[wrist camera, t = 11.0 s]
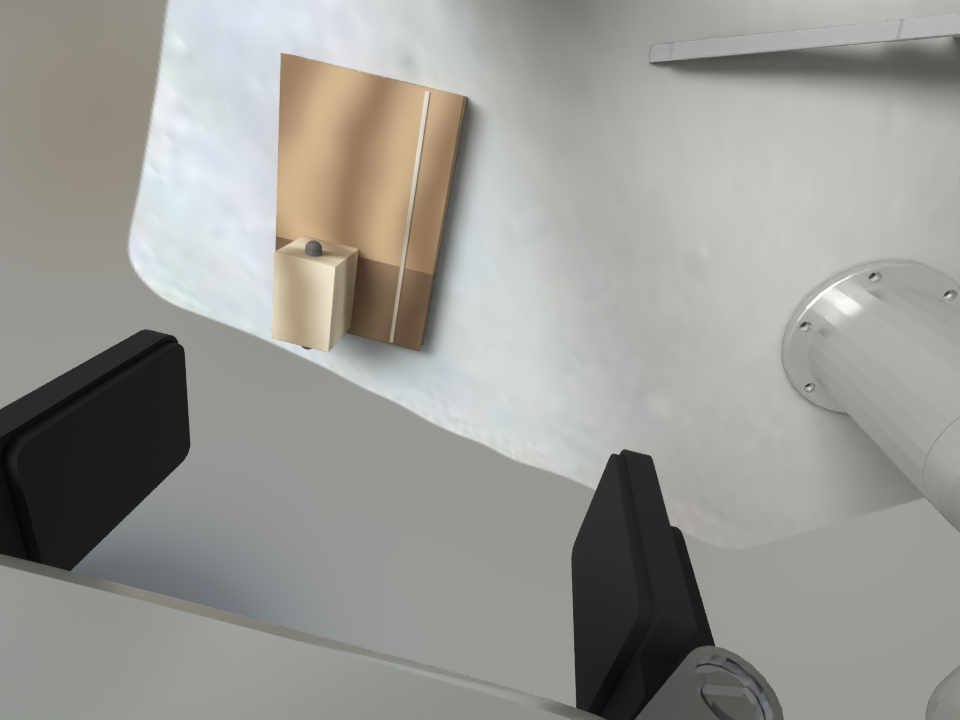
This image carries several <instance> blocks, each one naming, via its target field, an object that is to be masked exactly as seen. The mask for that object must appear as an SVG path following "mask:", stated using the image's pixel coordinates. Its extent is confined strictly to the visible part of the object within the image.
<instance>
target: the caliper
mask: <svg viewBox="0 0 960 720" xmlns="http://www.w3.org/2000/svg"><path fill="white" fill-rule="evenodd" d="M948 36H953V38H956V37H960V13H957V14H947V15H937V16H927V17H917V18H908V19H901V20H893V21H883V22H873V23H863V24H853V25H843V26H833V27H823V28H813V29H803V30H793V31H783V32H773V33H763V34H753V35H743V36H733V37H723V38H713V39H703V40H693V41H683V42H673V43H668V44H658V45H651V48H650V63H651V62H662V61H676V60H688V59H700V58H711V57H722V56H733V55H744V54H755V53H766V52H777V51H789V50H800V49H811V48H822V47H833V46H844V45H856V44H867V43H878V42H895V41H906V40H918V39H928V38H938V37H948Z"/></svg>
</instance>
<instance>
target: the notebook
mask: <svg viewBox="0 0 960 720" xmlns="http://www.w3.org/2000/svg"><path fill="white" fill-rule="evenodd" d="M466 99H467V97H466V96H462V95H457V94H453V93H449V92H445V91H441V90H437V89H432V88H428V87H424V86H420V85H416V84H411V83H407V82H403V81H399V80H395V79H391V78H386V77H382V76H378V75H374V74H370V73H366V72H361V71H357V70H353V69H349V68H345V67H340V66H336V65H332V64H328V63H324V62H320V61H315V60H311V59H307V58H303V57H299V56H294V55H290V54H284V53H281V70H280V107H279V144H278V181H277V217H276V251H277V250H279V249H281V248H282V247H284V246H286V245H288V244H290V243H292V242H293V241H295V240H297V239H299V238H301V237H303V236H308V237H312V238H316V239H320V240H324V241H328V242H332V243H336V244H341V245H345V246H349V247H353V248H357V249H359V251H358V261H357V270H356V280H355V290H354V300H353V309H352V319H351V328H350V329H349V330H348V331H347V332H346V333H349V334H353V335H357V336H361V337H365V338H369V339H373V340H377V341H381V342H385V343H389V344H393V345H397V346H401V347H405V348H409V349H413V350H417V351H419V350H420V348H421V347H422V345H423V341H424V336H425V330H426V324H427V319H428V313H429V308H430V302H431V296H432V291H433V285H434V279H435V274H436V268H437V262H438V257H439V251H440V246H441V240H442V234H443V229H444V223H445V217H446V212H447V206H448V201H449V195H450V189H451V184H452V178H453V172H454V167H455V161H456V155H457V150H458V144H459V139H460V133H461V127H462V122H463V116H464V110H465V105H466Z"/></svg>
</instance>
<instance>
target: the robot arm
mask: <svg viewBox="0 0 960 720" xmlns="http://www.w3.org/2000/svg"><path fill="white" fill-rule="evenodd" d="M871 274H872V275H871ZM870 275H871V276H870ZM802 323H803V324H802ZM801 324H802V325H801ZM782 355H783V364H784V367H785V370H786V373H787V376H788V377H789V379H790V380H791V382H792V383H793V385H794V386H795V387H796V389H797V390H798V391H799V392H800V393H801V394H802V395H803V396H804V397H806V398H807V399H808V400H810V401H811V402H812V403H814V404H816V405H818V406H821V407H823V408H825V409H828V410H832V411H836V412H840V413H848V414H849V415H850V416H851V417H852V419H853V420H854V421H855V422H856V423H857V424H858V425H859V426H860V427H861V428H862V429H863V430H864V432H865V433H866V434H867V435H868V436H869V437H870V438H871V439H872V440H873V441H874V442H875V443H876V445H877V446H878V447H879V448H880V449H881V450H882V451H883V452H884V453H885V454H886V455H887V456H888V458H889V459H890V460H891V461H892V462H893V463H894V464H895V465H896V466H897V467H898V468H899V470H900V471H901V472H902V473H903V474H904V475H905V476H906V477H907V478H908V479H909V480H910V481H911V483H912V484H913V485H914V486H915V487H916V488H917V489H918V490H919V491H920V492H921V493H922V494H923V496H924V497H925V498H926V499H927V500H928V501H929V502H930V503H931V504H932V505H933V506H934V507H935V508H936V509H937V510H938V511H939V512H940V513H941V514H942V516H943V517H944V518H945V519H946V520H947V521H948V522H949V523H950V524H951V525H952V526H954V527H955V528H956V529H957V530H958V531H959V532H960V287H959V286H958V285H957V284H956V283H955V281H954V280H952V279H951V278H949V277H948V276H946V275H945V274H943V273H941V272H940V271H937V270H935V269H933V268H930V267H928V266H926V265H922V264H918V263H914V262H909V261H884V262H875V263H870V264H867V265H863V266H860V267H856V268H853V269H851V270H849V271H847V272H844V273H842V274H840V275H838V276H836V277H834V278H833V279H831V280H830V281H828V282H826V283H825V284H823V285H822V286H820V287H819V288H818V289H817V290H816V291H815V292H813V293H812V294H811V295H810V296H809V297H808V298H807V299H806V300H805V301H804V303H803V304H802V305H801V306H800V307H799V308H798V310H797V311H796V313H795V314H794V316H793V318H792V319H791V321H790V323H789V325H788V328H787V331H786V333H785V336H784V341H783V348H782ZM189 448H190V432H189V416H188V400H187V385H186V368H185V353H184V348H183V346H181V345H180V344H178V341H177V339H176V338H175V337H174V336H172V335H168V334H164V333H159V332H156V331H152V330H142V331H140V332H138V333H136V334H134V335H132V336H130V337H129V338H127V339H125V340H123V341H122V342H120V343H118V344H116V345H115V346H113V347H111V348H109V349H107V350H105V351H104V352H102V353H100V354H99V355H97V356H95V357H93V358H91V359H89V360H88V361H86V362H84V363H82V364H80V365H79V366H77V367H75V368H73V369H72V370H70V371H68V372H66V373H64V374H63V375H61V376H59V377H57V378H55V379H54V380H52V381H50V382H49V383H47V384H45V385H43V386H41V387H39V388H38V389H36V390H34V391H32V392H31V393H29V394H27V395H25V396H23V397H22V398H20V399H18V400H16V401H14V402H13V403H11V404H9V405H7V406H5V407H4V408H2V409H0V720H784V718H783V712H782V708H781V705H780V703H779V700H778V698H777V696H776V694H775V692H774V691H773V689H772V688H771V686H770V685H769V683H768V682H767V681H766V679H765V678H764V677H763V676H762V675H761V674H760V673H759V672H758V671H757V670H756V669H755V668H754V667H753V666H752V665H751V664H750V663H748V662H747V661H746V660H744V659H743V658H741V657H740V656H739V655H737V654H735V653H733V652H730V651H728V650H726V649H724V648H720V647H715V644H714V640H713V637H712V634H711V630H710V627H709V623H708V620H707V616H706V613H705V609H704V606H703V602H702V599H701V596H700V592H699V589H698V585H697V582H696V578H695V575H694V571H693V568H692V565H691V562H690V558H689V554H688V551H687V547H686V544H685V540H684V537H683V535H682V532H681V530H679V529H678V528H677V527H674V526H670V523H669V519H668V515H667V512H666V508H665V504H664V500H663V497H662V493H661V489H660V485H659V482H658V478H657V474H656V470H655V467H654V463H653V459H652V457H651V456H649V455H645V454H641V453H637V452H633V451H629V450H625V449H624V450H622V451H621V453H620V455H617V454H612V455H611V456H610V458H609V460H608V463H607V465H606V467H605V470H604V472H603V475H602V477H601V480H600V482H599V484H598V487H597V489H596V492H595V494H594V497H593V499H592V501H591V504H590V506H589V509H588V511H587V514H586V516H585V518H584V521H583V523H582V526H581V528H580V531H579V533H578V536H577V538H576V540H575V543H574V546H573V551H572V592H573V620H574V621H573V622H574V652H575V679H576V680H575V681H576V708H574V707H571V706H568V705H565V704H562V703H559V702H556V701H553V700H550V699H547V698H543V697H540V696H536V695H533V694H529V693H526V692H523V691H519V690H516V689H512V688H508V687H505V686H501V685H498V684H495V683H491V682H488V681H484V680H480V679H477V678H474V677H470V676H467V675H463V674H459V673H455V672H452V671H448V670H445V669H441V668H437V667H433V666H430V665H426V664H422V663H418V662H414V661H411V660H407V659H403V658H399V657H396V656H392V655H389V654H385V653H381V652H377V651H373V650H370V649H366V648H362V647H359V646H355V645H351V644H347V643H344V642H340V641H336V640H333V639H329V638H325V637H321V636H317V635H314V634H310V633H306V632H302V631H298V630H295V629H291V628H287V627H283V626H279V625H276V624H272V623H268V622H264V621H260V620H256V619H253V618H249V617H245V616H241V615H237V614H234V613H230V612H226V611H222V610H218V609H214V608H211V607H207V606H203V605H199V604H195V603H191V602H188V601H183V600H180V599H176V598H172V597H168V596H164V595H160V594H157V593H153V592H149V591H145V590H141V589H137V588H133V587H129V586H126V585H122V584H118V583H114V582H110V581H106V580H102V579H98V578H94V577H90V576H86V575H82V574H79V573H75V572H71V570H72V569H73V568H74V567H75V566H76V565H77V564H78V563H79V562H80V561H81V560H82V559H83V558H84V557H85V556H86V555H87V554H88V553H89V552H90V551H91V550H92V549H93V548H94V547H95V546H97V545H98V544H99V543H100V542H101V541H102V540H103V539H104V538H105V537H106V536H107V535H108V534H109V533H110V532H111V531H112V530H113V529H114V528H115V527H116V526H117V525H118V524H119V523H120V522H121V521H122V520H123V519H124V518H125V517H126V516H127V515H128V514H129V513H130V512H131V511H132V510H134V508H135V507H137V506H138V505H139V504H140V503H141V502H142V501H143V500H144V499H145V498H146V497H147V496H148V495H149V494H150V493H151V492H152V491H153V490H154V489H155V488H156V487H157V486H158V485H159V484H160V483H161V482H162V481H163V480H164V479H165V478H166V477H167V476H168V475H169V474H170V473H171V472H172V471H174V470H175V469H176V467H178V466H179V465H180V464H181V463H182V462H183V461H184V459H185V458H186V456H187V455H188V452H189ZM926 720H960V666H959V667H957V668H956V669H955V670H954V671H953V672H952V673H950V674H949V675H948V676H947V677H946V678H945V679H944V680H943V681H942V682H941V683H940V684H939V685H938V686H937V687H936V688H935V690H934V691H933V693H932V695H931V697H930V699H929V701H928V705H927V709H926Z"/></svg>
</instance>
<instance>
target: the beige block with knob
mask: <svg viewBox="0 0 960 720" xmlns="http://www.w3.org/2000/svg"><path fill="white" fill-rule="evenodd" d="M358 251H359V249H357V248H353V247H349V246H345V245H341V244H336V243H332V242H328V241H324V240H320V239H316V238H312V237H308V236H303V237H301V238H299V239H297V240H295V241H293V242H292V243H290V244H288V245H286V246H284V247H282V248H281V249H279V250H277V251H275V252H274V287H273V326H272V339H276V340H280V341H284V342H288V343H292V344H296V345H300V346H302V347H303V348H304V349H316V350H320V351H324V352H329V351H330V350H331V349H332V348H333V346H334V345H335V344H336V343H337V342H338V341H339V340H340V339H341V338H342V336H343V335H344V334H345V333H346V332H347V331H348V330H349V329H350V328H351V319H352V309H353V300H354V290H355V280H356V270H357V261H358Z"/></svg>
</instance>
